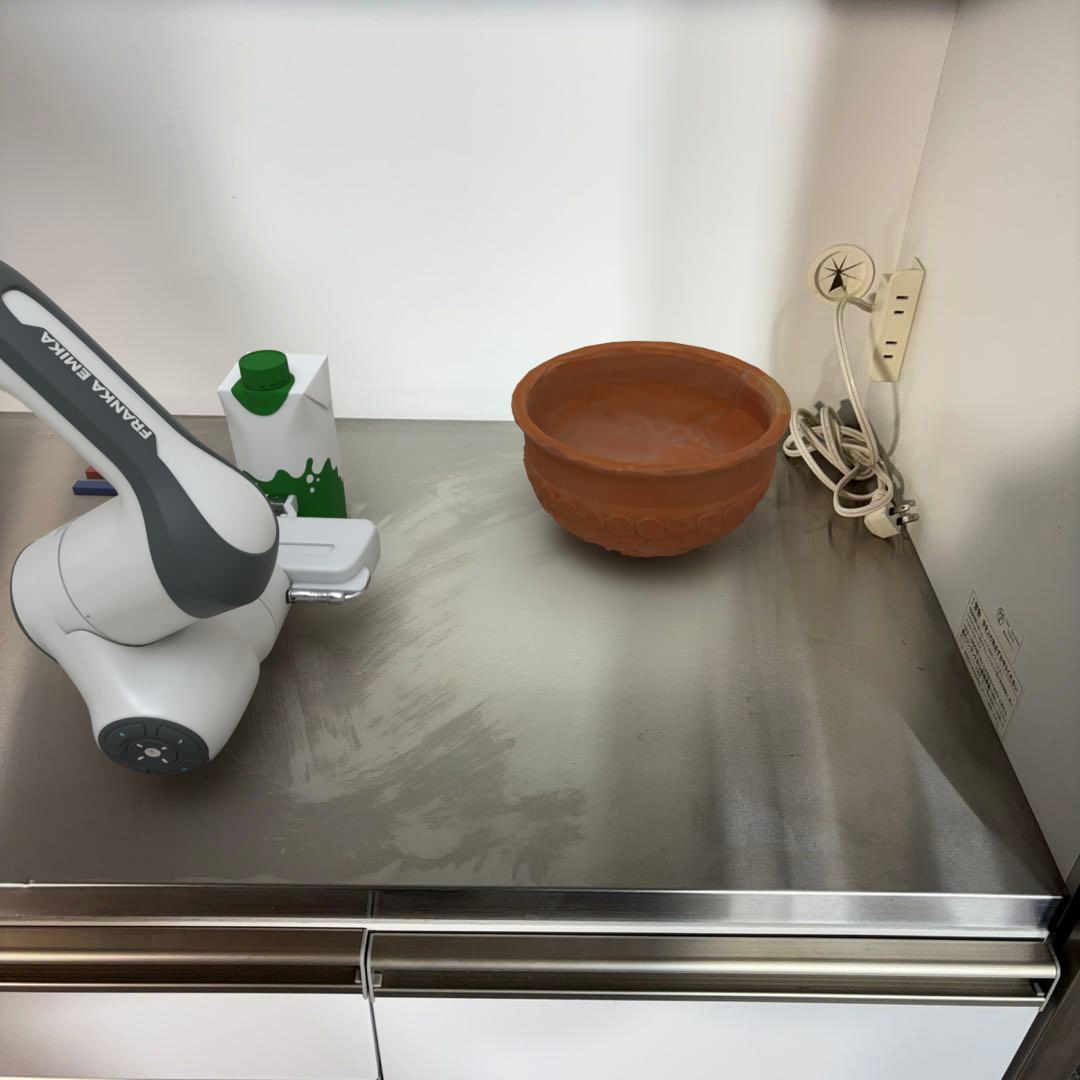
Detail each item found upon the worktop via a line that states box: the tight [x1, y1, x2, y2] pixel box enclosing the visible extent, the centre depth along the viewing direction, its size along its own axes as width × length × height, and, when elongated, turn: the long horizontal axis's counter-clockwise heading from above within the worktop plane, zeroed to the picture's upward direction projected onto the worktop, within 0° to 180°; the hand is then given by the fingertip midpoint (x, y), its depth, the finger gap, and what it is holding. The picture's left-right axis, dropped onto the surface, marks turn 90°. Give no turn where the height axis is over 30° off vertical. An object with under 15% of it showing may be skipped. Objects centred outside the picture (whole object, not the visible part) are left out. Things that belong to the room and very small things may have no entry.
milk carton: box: [216, 349, 348, 519], centre depth 89 cm, size 9×9×20 cm
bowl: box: [510, 340, 792, 558], centre depth 91 cm, size 25×25×15 cm
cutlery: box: [71, 464, 119, 497], centre depth 102 cm, size 18×5×1 cm, turn 87°
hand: (281, 500), depth 87 cm, fingers closed, pressing on milk carton
